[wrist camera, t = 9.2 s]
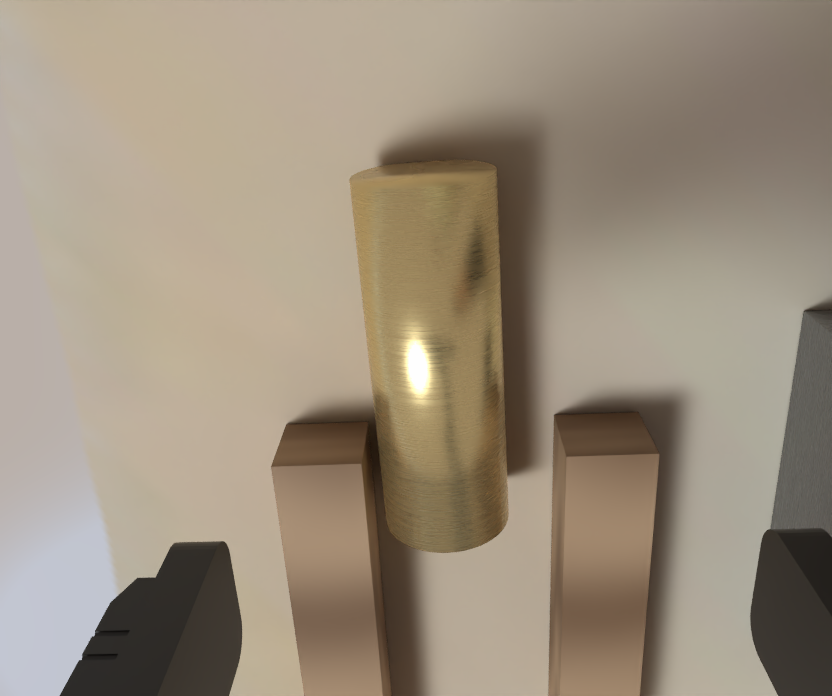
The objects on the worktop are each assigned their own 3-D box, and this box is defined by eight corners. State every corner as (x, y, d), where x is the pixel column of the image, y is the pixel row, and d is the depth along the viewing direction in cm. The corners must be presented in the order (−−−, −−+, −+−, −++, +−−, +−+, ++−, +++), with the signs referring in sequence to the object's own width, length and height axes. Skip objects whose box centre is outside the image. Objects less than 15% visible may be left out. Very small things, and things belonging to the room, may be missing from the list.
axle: (523, 491, 24) (484, 564, 21) (416, 472, 25) (365, 537, 22) (515, 159, 20) (465, 190, 17) (388, 159, 21) (322, 188, 18)
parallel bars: (618, 707, 28) (633, 767, 26) (324, 714, 28) (315, 772, 26) (638, 411, 23) (659, 453, 21) (286, 424, 24) (271, 466, 22)
